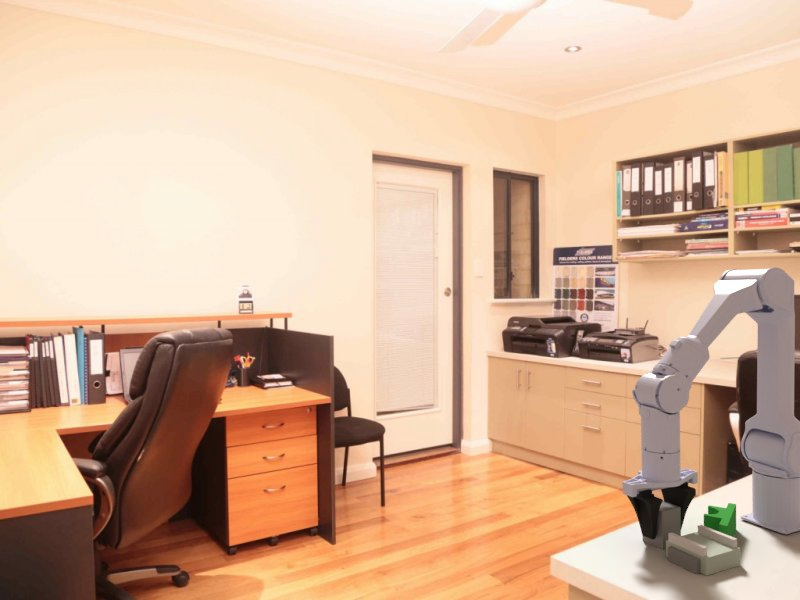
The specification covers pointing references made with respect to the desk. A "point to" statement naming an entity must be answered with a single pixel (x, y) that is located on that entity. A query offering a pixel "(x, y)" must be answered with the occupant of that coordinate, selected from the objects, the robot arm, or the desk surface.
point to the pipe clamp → (721, 519)
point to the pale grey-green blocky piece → (703, 551)
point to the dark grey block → (666, 524)
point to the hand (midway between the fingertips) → (661, 533)
